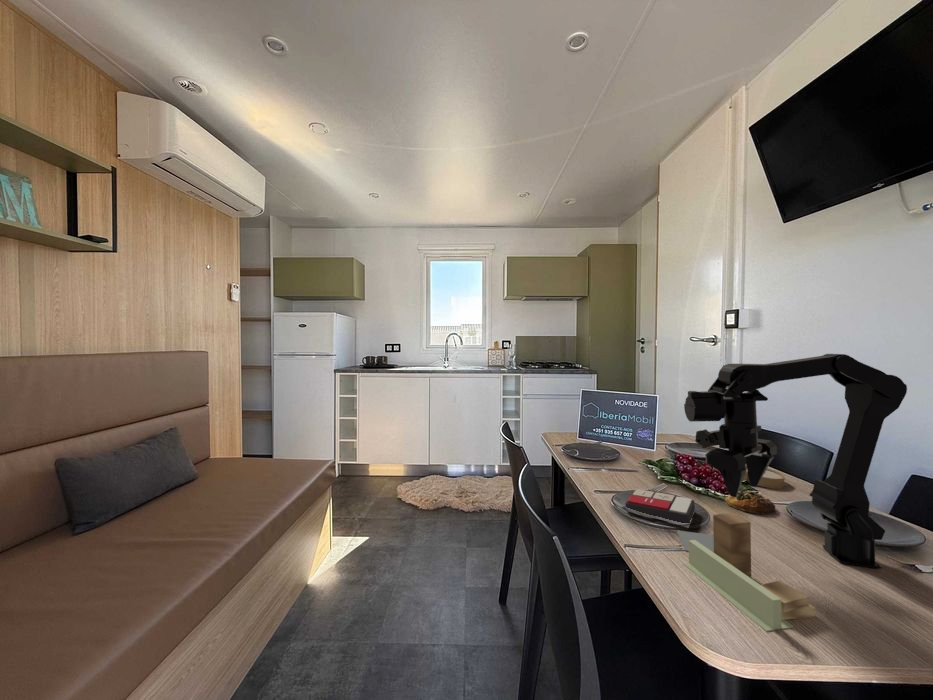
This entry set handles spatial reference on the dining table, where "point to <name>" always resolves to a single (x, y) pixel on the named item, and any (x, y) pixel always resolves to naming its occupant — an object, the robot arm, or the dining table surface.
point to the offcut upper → (787, 595)
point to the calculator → (662, 505)
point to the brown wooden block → (733, 540)
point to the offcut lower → (799, 613)
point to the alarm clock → (769, 479)
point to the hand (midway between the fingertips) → (743, 491)
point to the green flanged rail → (737, 588)
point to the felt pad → (701, 538)
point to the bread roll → (751, 503)
